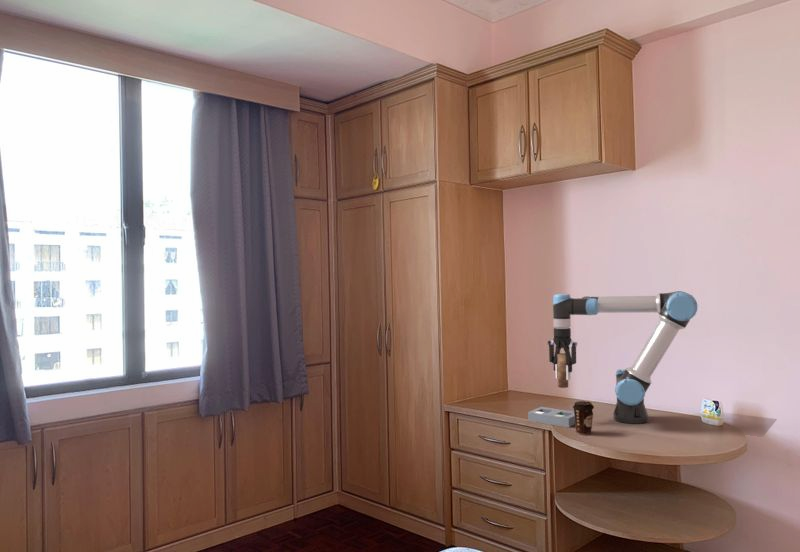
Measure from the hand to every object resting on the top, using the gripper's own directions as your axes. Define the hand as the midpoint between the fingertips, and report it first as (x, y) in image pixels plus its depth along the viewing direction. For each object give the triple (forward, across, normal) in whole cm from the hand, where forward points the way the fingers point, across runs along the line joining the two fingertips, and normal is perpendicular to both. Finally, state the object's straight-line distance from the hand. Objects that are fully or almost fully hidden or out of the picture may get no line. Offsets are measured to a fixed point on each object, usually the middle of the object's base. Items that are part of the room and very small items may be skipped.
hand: (563, 378), depth 264 cm
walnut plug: (+4, 0, 0) cm, 4 cm away
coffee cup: (+20, -14, +11) cm, 27 cm away
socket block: (+20, +5, 0) cm, 21 cm away
